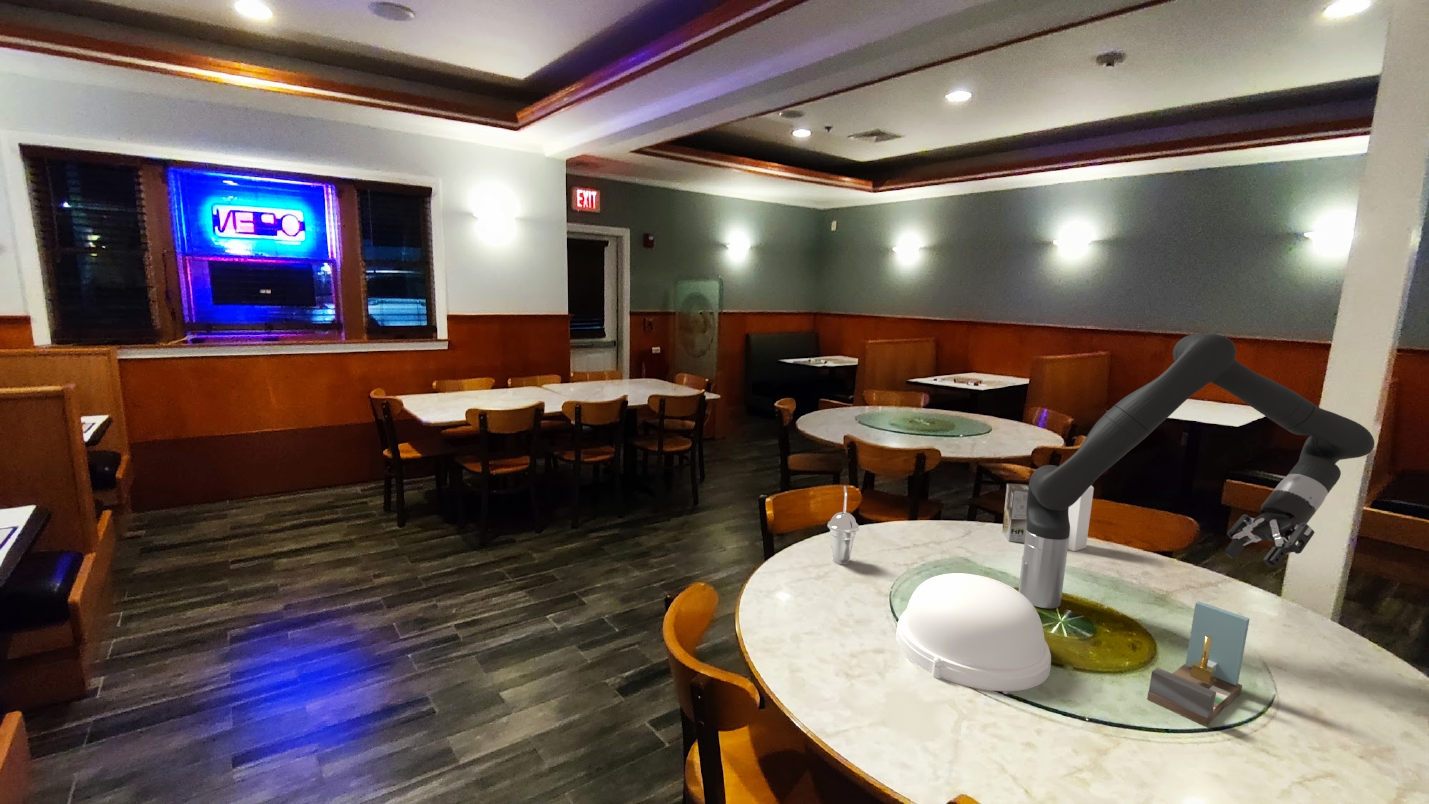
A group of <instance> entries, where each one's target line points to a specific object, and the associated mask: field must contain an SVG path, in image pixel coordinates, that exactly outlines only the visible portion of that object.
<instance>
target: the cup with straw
mask: <svg viewBox="0 0 1429 804" xmlns="http://www.w3.org/2000/svg"><path fill="white" fill-rule="evenodd" d="M843 493H844V498H843V499H844V500H843V511H841V512H840V511H839V512H837V513H835V514H834V515H833V516H832V518H831V519H830V520H829V521H828V522H827V525H826V526H827V528H828V529H829V531H830V536H831V540H830V541H831V554H832V555H831V556H832V562H833V563H835V564H838V565H847V564H849V563H850V559H851V555H852V550H853V546H854V545H853V544H854V540H855V537H856V533H857V532H858V531H859V530H860V527H859V526H860V525H859V524H858V523H857V522H856V518H855V517H854V516H853V515H852V513H849V512H847V503H848V491H847V486H846V485H844V486H843Z"/></svg>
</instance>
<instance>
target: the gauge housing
mask: <svg viewBox="0 0 1429 804" xmlns="http://www.w3.org/2000/svg"><path fill="white" fill-rule="evenodd" d="M1191 668H1192V667H1190V666H1187V665H1186V662H1185V663H1184V664H1182V665H1181V666H1180V667H1179V668H1177V669H1176V670H1175V671H1174V672H1172V673H1171V672H1169V671H1168V670H1165V669H1163V668H1160V667H1159V666H1158V667H1156V668H1154V669H1153V670H1152V671H1151V675H1150V682H1149V688H1148V692H1147V698H1146V700H1148V701H1150V702H1152V703H1154V704H1156V705H1158V706H1160V707H1162V708H1165V709H1167V710H1169V711H1171V712H1173V713H1176V714H1178V715H1180V716H1182V717H1184V718H1186V719H1188V720H1191V721H1192V722H1195V723H1197V724H1199V725H1201V726H1204V727H1207V725H1209V723H1211V722H1212V721H1213V720H1214V719H1215V718H1216V717H1217V716H1218V715H1219V714H1220V713H1221V712H1222V711H1224V709H1225V708H1227V707H1228V705H1230V704H1231V703H1232V702H1233V701H1234V700H1235V699H1236V698H1237V697H1238V696H1239V695H1240V694H1241V693H1242V690H1243V685H1242V684H1240V683H1239V682H1238V683H1237V684H1236V685H1234V684H1231V683H1229V682H1226V681H1224V680H1221V679H1219V678H1216V677H1214V679H1213V681H1212V682H1211V683H1210V684H1208V683H1206V682H1203V681H1201V680H1198V679H1196V678H1194V677H1191V676H1190V674H1191ZM1231 701H1232V702H1231Z"/></svg>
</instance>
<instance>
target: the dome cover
mask: <svg viewBox="0 0 1429 804" xmlns="http://www.w3.org/2000/svg"><path fill="white" fill-rule="evenodd" d="M1035 607H1036V606H1033V605H1032V603H1031V602H1030V601H1029V600H1028V599H1027V598H1026V597H1025V596H1024V595H1022V594H1021V593H1020V592H1019V590H1017V589H1015V588H1013V587H1012V586H1010V585H1008V584H1006V583H1004V582H1001V581H999V580H997V579H993V578H991V577H987V576H983V575H978V574H972V573H965V572H963V573H960V572H959V573H958V572H956V573H955V572H954V573H952V572H951V573H943V574H940V575H936V576H932V577H930V578H928V579H926V580H924V581H923V582H922V583H920V584H919V585H918V586H917V587H916V589H915V590H914V591H913V593H912V594H911V596H910V598H909V601H908V603H907V607H906V609H905V610H904V611H903V612H902V614H901V615H900V617H899V619H898V621H897V625H896V626H897V627H896V633H895V639H896V643H897V645H898V647H899V648H900V650H901V652H902V653H904V655H905V656H906V657H907V658H908V659H909V660H911V661H912V662H913V663H914V664H916V665H917V666H919V667H920V668H922V669H923V670H925V671H927V672H929V673H931V677H932V678H934V679H937V680H939V679H944V680H947V681H949V682H952V683H954V684H958V685H961V686H965V687H969V688H972V689H978V690H984V691H991V692H992V691H993V692H994V691H995V692H1016V691H1025V690H1030V689H1031V688H1035V687H1038V686H1039V685H1042V684H1043V683H1044V682H1045V681H1046V680H1047V679H1048V678H1049V676H1050V675H1051V669H1052V667H1051V666H1052V655H1051V651H1050V647H1049V644H1048V642H1047V641H1046V640H1045V633H1044V627H1043V623H1042V619H1041V618H1040V615H1039V612H1038V610H1037V609H1036V608H1035Z"/></svg>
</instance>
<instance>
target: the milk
mask: <svg viewBox="0 0 1429 804" xmlns="http://www.w3.org/2000/svg"><path fill="white" fill-rule="evenodd" d="M1094 490H1095V488H1094V486H1093V485H1091V486H1090V487H1089V488H1088V489H1087V490H1086V491H1085V492H1084V494H1083V495H1082V496H1081V497H1080V498H1079V499H1078V500H1077V501H1076V502H1075V503H1074V504H1073V505H1072V506H1070V507H1069V510H1068V516H1069V523H1070V535H1069V543H1068V550H1069V551H1072V552H1077V551H1082V550H1084V549H1086V548H1087V542H1088V534H1089V527H1090V526H1089V525H1090V519H1091V513H1092V512H1091V511H1092V505H1093V499H1094V498H1093V497H1094Z"/></svg>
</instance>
